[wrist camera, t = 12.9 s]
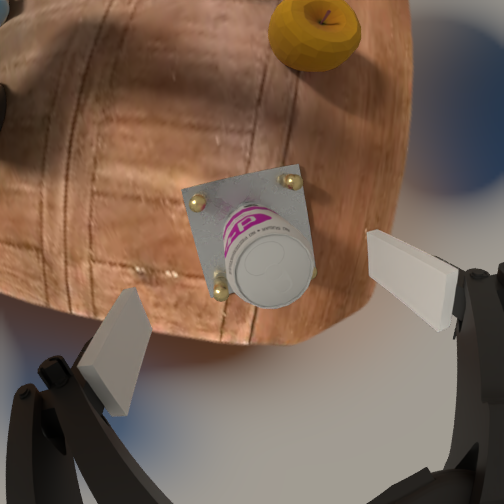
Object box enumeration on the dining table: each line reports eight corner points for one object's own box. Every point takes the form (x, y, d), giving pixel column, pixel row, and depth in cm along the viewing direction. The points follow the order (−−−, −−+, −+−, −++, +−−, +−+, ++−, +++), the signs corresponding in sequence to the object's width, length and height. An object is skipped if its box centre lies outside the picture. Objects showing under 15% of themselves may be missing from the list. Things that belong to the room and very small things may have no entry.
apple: (331, 90, 34) (376, 64, 22) (258, 79, 33) (277, 41, 21) (331, 31, 31) (368, -6, 19) (262, 18, 30) (279, -29, 17)
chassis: (210, 295, 41) (210, 311, 36) (182, 189, 36) (176, 192, 31) (314, 269, 42) (325, 282, 37) (296, 164, 37) (307, 163, 32)
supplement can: (210, 226, 37) (206, 263, 23) (261, 191, 37) (289, 206, 22) (244, 272, 40) (260, 330, 25) (293, 239, 39) (334, 280, 25)
